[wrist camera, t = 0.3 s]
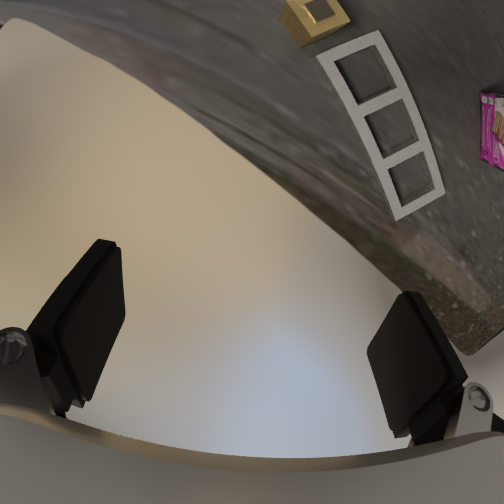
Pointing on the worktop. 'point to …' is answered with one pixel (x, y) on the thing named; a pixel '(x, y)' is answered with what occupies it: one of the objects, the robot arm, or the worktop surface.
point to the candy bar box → (492, 129)
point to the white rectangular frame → (378, 101)
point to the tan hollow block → (312, 19)
